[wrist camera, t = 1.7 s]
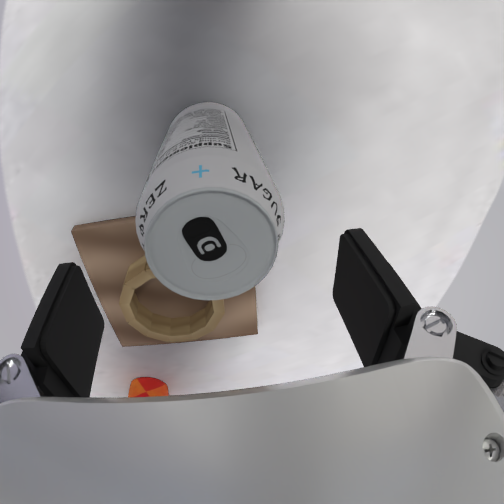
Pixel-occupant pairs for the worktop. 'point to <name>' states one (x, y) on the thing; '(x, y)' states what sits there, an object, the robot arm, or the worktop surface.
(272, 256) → the energy drink can
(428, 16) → the worktop surface
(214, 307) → the ring stand
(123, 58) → the worktop surface
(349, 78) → the worktop surface
